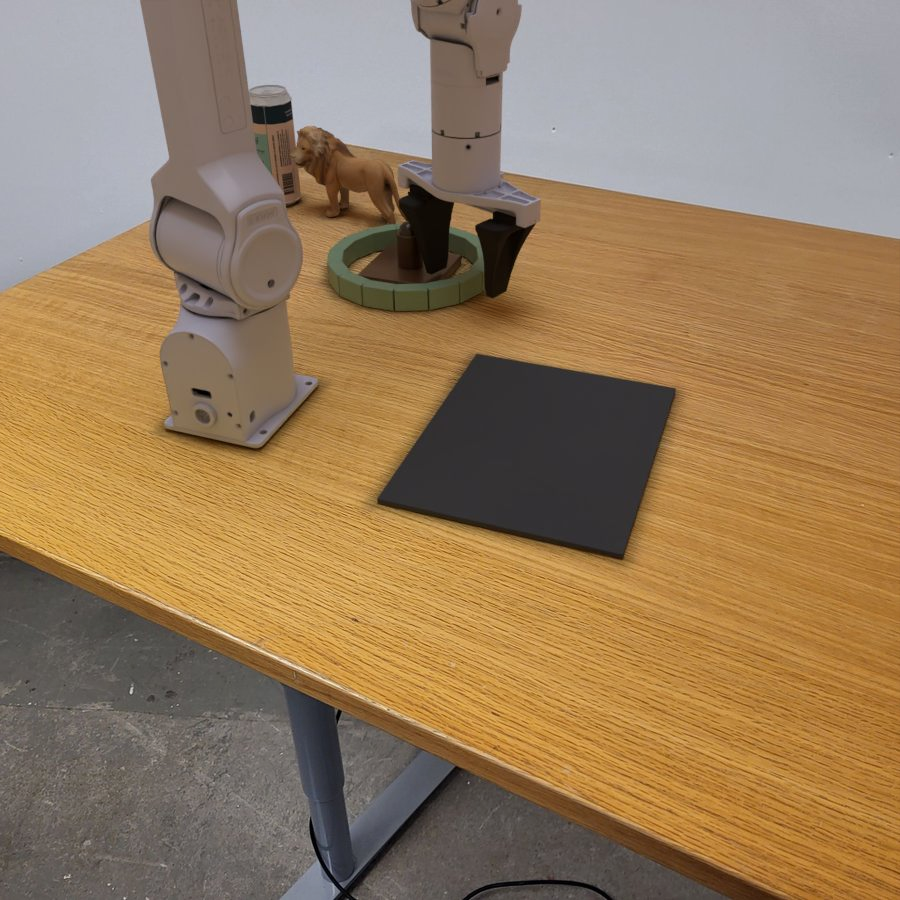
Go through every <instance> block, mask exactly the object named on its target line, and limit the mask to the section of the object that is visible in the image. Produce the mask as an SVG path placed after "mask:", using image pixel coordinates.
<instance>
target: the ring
mask: <svg viewBox="0 0 900 900" xmlns="http://www.w3.org/2000/svg"><path fill="white" fill-rule="evenodd" d="M402 223H403V222H402ZM402 223H401V222H399V223H396V224H395V225H394V224H390V225H386V224H384V225H380V226H374V227H368V228H364V229H362V230H360V231H357V232H354V233H352V234H349V235H347V236H344V237H343V238H341V239H340V240H339V241H338V242H337V243H335V244H334V245H333V246H332V247H330V248H329V250H328V253H327V259H326V260H327V261H326V268H327V269H326V270H327V279H328V283H329V285H330V286H331V288H332V289H333V290H334V291H335V292H336V294H337V295H338V296H340V297H341V298H343V299H345V300H348V301H349V302H352V303H355V304H357V305H359V306H363V307H367V308H373V309H378V310H384V311H391V312H394V311H395V312H413V311H414V312H416V311H428V310H429V311H433V310H437V309H441V308H446V307H451V306H455V305H459V304H462V303H464V302H466V301H468V300H470V299H472V298H474V297H476V296H478V295H480V294H482V292H485V285H484V260H483V253H482V248H481V244H480V241H479V238H478V235H477V234H475V233H472V232H469V231H466V230H464V229H461V228H459V227H455V226H451V225H450V228H449V253H455V254H461V255H462V257H464V258H465V259H467V260H468V261H469V262H470V263H471V264H473V265H472V266H471V267H470V268H469V269H467V270H465V271H463V272H461V273H458V274H457V275H455V276H451V277H450V278H449V279H444V280H439V281H435V282H430V283H425V284H392V283H386V282H379V281H373V280H369V279H367V278H364V277H362V276H360V275H358V273H356V272H355V273H354V272H352V271H351V270H350V268H348V267H349V266H351V264H353V263H354V262H355V261H356V260H358V259H361V258H363V257H365V256H368V255H370V254H372V253H375V252H380V251H381V252H382V251H383V250H384V249H385V248H386V247H387V246H388V245H389V244H392V245H397V234H396V233H397V231H398V230H399V228H400V226H401V224H402Z"/></svg>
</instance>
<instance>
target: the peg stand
mask: <svg viewBox="0 0 900 900" xmlns="http://www.w3.org/2000/svg"><path fill="white" fill-rule="evenodd" d="M396 234H397V245H392V244H389V245H388V246H387V247H386V248H385V249H384V250H381V252H379V253H378V255H376V256H375V258H373V259H372V260H371V261H370V262H369V263H368V264H367V265H366V266H365V267H364V268H363V269H362V270H360V272H359V273H357V275H360V276H362V277H364V278H367V279H369V280H373V281H379V282H386V283H392V284H425V283H430V282H435V281H439V280H444V279H449V278H452V276H453V274H454V273H455V272H456V271H457V270H458V268H460V266H461V265H462V260H463V259H462V257H463V256H462V255H461V254H456V253H453V252H449V253H448V262H447V267H446V268H445V269H443V270H440V271H438V272H436V273H434V274H432V275H431V274H429V273H427V272H426V268H425V265H424V262H423V258H422V255H421V251H420V248H419V245H418V242H417V239H416V237H415V234H414V232H413V230H412V228H411V226H410V224H409V222H408V221H406V220H405V221H403V222H402V224H401V226H400V228H399V230H398V231H397V233H396Z"/></svg>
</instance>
